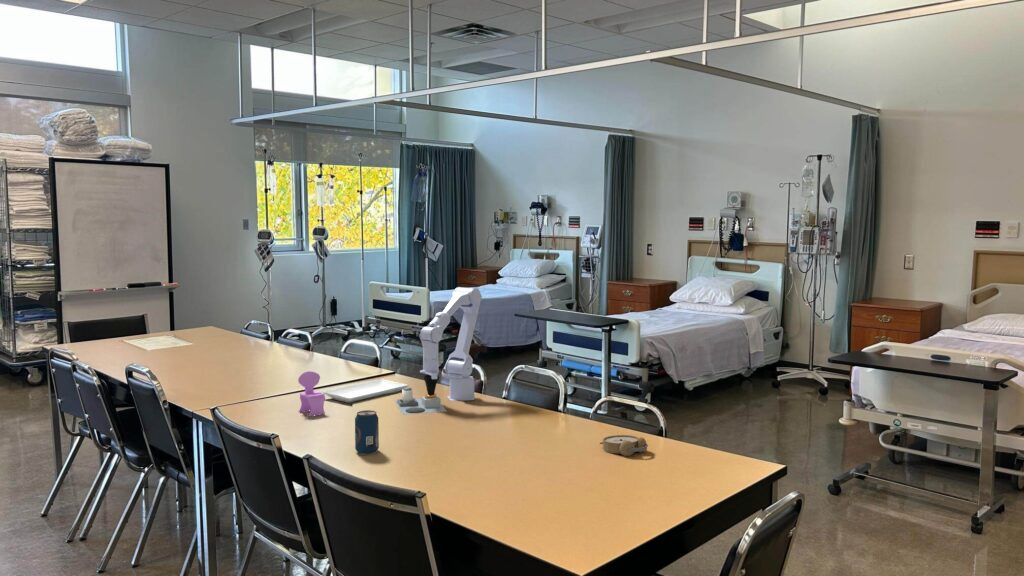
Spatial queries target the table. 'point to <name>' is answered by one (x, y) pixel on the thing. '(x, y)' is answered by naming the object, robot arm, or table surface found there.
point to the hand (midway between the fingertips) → (430, 394)
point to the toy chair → (311, 394)
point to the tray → (365, 390)
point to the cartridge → (407, 395)
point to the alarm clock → (624, 444)
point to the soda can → (366, 432)
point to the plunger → (430, 396)
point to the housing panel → (422, 405)
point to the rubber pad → (415, 410)
